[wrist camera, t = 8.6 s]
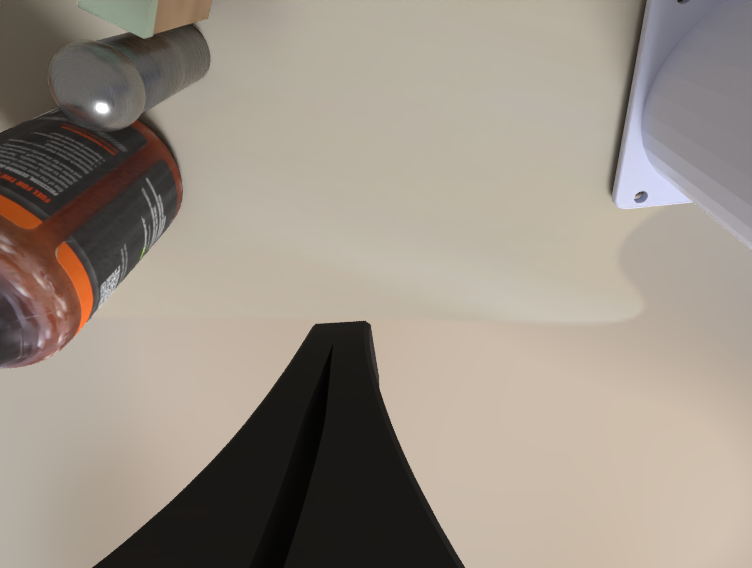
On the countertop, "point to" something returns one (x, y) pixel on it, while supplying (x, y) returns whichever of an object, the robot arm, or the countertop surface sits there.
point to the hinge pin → (125, 75)
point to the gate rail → (148, 13)
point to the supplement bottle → (74, 224)
